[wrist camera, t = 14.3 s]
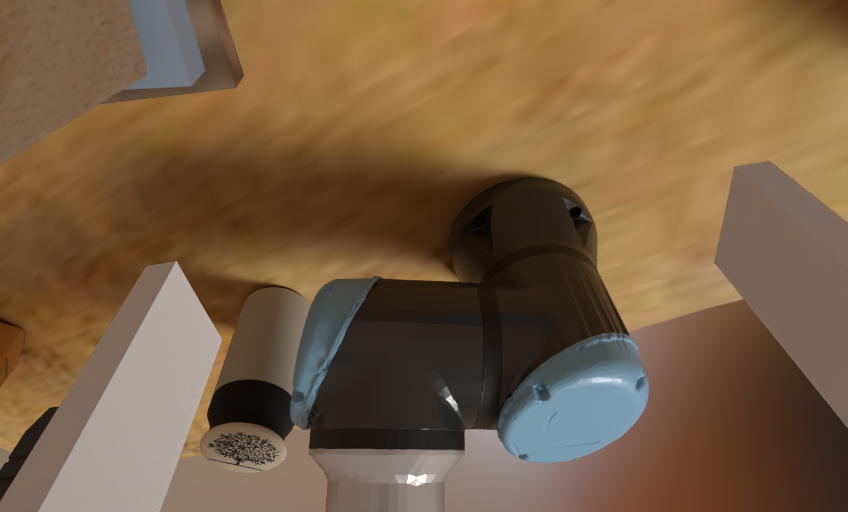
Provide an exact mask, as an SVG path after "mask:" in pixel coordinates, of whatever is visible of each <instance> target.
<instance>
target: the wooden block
mask: <svg viewBox="0 0 848 512" xmlns="http://www.w3.org/2000/svg"><path fill="white" fill-rule="evenodd" d="M146 74H147V68H146V64H145V60H144V56H143V52H142V49H141V45H140V41H139V37H138V33H137V29H136V25H135V22H134V18H133V14H132V10H131V6H130V2H129V0H0V164H2V163H3V162H5V161H6V160H8V159H10V158H11V157H13V156H15V155H16V154H18V153H20V152H21V151H23V150H25V149H26V148H28V147H30V146H31V145H33V144H34V143H36V142H38V141H39V140H41V139H43V138H44V137H46V136H48V135H49V134H51V133H53V132H54V131H56V130H58V129H59V128H61V127H63V126H64V125H66V124H67V123H69V122H71V121H72V120H74V119H76V118H77V117H79V116H81V115H82V114H84V113H86V112H87V111H89V110H91V109H92V108H94V107H95V106H97V105H99V104H100V103H102V102H104V101H105V100H107V99H109V98H110V97H112V96H114V95H115V94H117V93H119V92H120V91H122V90H124V89H125V88H127V87H128V86H130V85H132V84H133V83H135V82H137V81H138V80H140V79H142V78H143V77H145V76H146Z"/></svg>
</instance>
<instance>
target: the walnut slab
mask: <svg viewBox="0 0 848 512" xmlns="http://www.w3.org/2000/svg"><path fill="white" fill-rule="evenodd" d="M185 2H186V6H187V9H188V13H189V16H190V19H191V23H192V26H193V30H194V33H195V37H196V40H197V43H198V47H199V50H200V54H201V57H202V61H203V64H204V67H205V71H204V73H203V74H202V75H201V76H200V77H199V78H198V79H197V81H196V82H195V83H194V84H193V85H192V86H186V87H167V88H148V89H128V90H122V91H120V92H119V93H117V94H115V95H114V96H112V97H110V98H109V99H107V100H105V101H104V102H102V103H100V104H105V103H114V102H122V101H130V100H139V99H147V98H156V97H164V96H173V95H181V94H189V93H198V92H206V91H215V90H223V89H232V88H236V87H237V85H238V84H239V82H240V81H241V79H242V78H243V76H244V74H243V71H242V68H241V65H240V61H239V58H238V55H237V52H236V49H235V46H234V42H233V39H232V36H231V33H230V30H229V27H228V24H227V20H226V17H225V14H224V11H223V8H222V5H221V1H220V0H185Z"/></svg>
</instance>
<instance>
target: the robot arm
mask: <svg viewBox="0 0 848 512" xmlns="http://www.w3.org/2000/svg"><path fill="white" fill-rule="evenodd" d="M450 250H451V257H452V263H453V267H454V270H455V273H456V275H457V277H458V279H459V281H460V282H448V281H423V280H397V279H382V277H379V276H374V277H373V278H362V279H336V280H332V281H330V282H328V283H327V284H325V285H324V286H323V287H322V288H321V289H320V290H319V291H318V293H317V294H316V296H315V298H314V300H313V302H312V304H311V307H310V309H309V312H308V315H307V318H306V321H305V325H304V328H303V332H302V336H301V340H300V344H299V348H298V353H297V358H296V363H295V369H294V375H293V383H292V385H293V391H292V397H291V402H290V416H291V420H292V422H293V423H294V425H296V426H298V427H300V428H301V429H303V430H306V429H309V427H310V443H309V454H310V456H311V457H312V458H313V459H314V460H315V461H316V463H317V464H318V465H319V466H320V467H321V468H322V470H323V471H324V473H325V475H326V477H327V479H328V482H327V497H326V511H325V512H445V505H444V503H445V501H444V500H445V497H444V496H445V495H444V494H445V490H444V488H445V486H444V484H445V479H446V477H447V475H448V473H449V472H450V471H451V470H452V469H453V467H454V466H455V465H456V464H457V463H458V462H459V461H460V460H461V458H462V457H463V456H464V455H465V442H464V441H465V438H464V437H465V436H464V432H465V429H487V430H497V432H498V438H499V439H500V441H501V442H502V443H503V445H504V447H505V448H506V449H507V450H508V452H509V453H511V454H512V455H514V456H519V458H520V459H522V460H525V461H529V462H535V463H555V462H561V461H567V460H571V459H576V458H579V457H582V456H584V455H588V454H590V453H592V452H595V451H597V450H599V449H601V448H603V447H604V446H606V445H607V444H610V443H611V442H613V441H615V440H616V439H618V438H619V437H620V436H622V435H623V434H624V433H625V432H626V431H627V430H629V429H630V428H631V427H632V426H633V424H634V423H635V422H636V421H637V420H638V418H639V417H640V415H641V414H642V412H643V410H644V408H645V406H646V403H647V399H648V394H649V384H648V379H647V376H646V373H645V370H644V367H643V365H642V362H641V360H640V356H639V354H638V348H637V345H636V343H635V342H634V340H633V339H632V338H631V337H630V336H629V333H628V331H627V329H626V327H625V325H624V323H623V321H622V319H621V317H620V315H619V313H618V311H617V309H616V307H615V305H614V303H613V301H612V299H611V297H610V295H609V293H608V291H607V289H606V287H605V284H604V282H603V280H602V278H601V277H600V275H599V273H598V271H597V231H596V226H595V223H594V220H593V218H592V216H591V214H590V212H589V211H588V209H587V207H586V205H585V203H584V202H583V201H582V199H581V198H580V197H579V196H578V195H577V194H576V193H575V192H573V191H572V190H571V189H569V188H567V187H566V186H564V185H562V184H559V183H556V182H553V181H550V180H545V179H536V178H527V179H517V180H512V181H508V182H504V183H501V184H499V185H496V186H494V187H492V188H490V189H488V190H486V191H484V192H483V193H481V194H480V195H478V196H477V197H476V198H474V199H473V200H472V201H471V202H470V203H469V204H468V205H467V206H466V207H465V208H464V209H463V211H462V212H461V213H460V215H459V216H458V218H457V220H456V222H455V224H454V226H453V229H452V233H451V238H450ZM714 263H715V264H716V265H717V266H718V268H719V269H720V270H721V271H722V273H723V274H724V275H725V276H726V277H727V279H728V280H729V281H730V282H731V284H732V285H733V286H734V287H735V289H736V290H737V291H738V292H739V294H740V295H741V296H742V297H743V299H744V300H745V301H746V302H747V303H748V305H749V306H750V307H751V309H752V310H753V311H754V312H755V313H756V315H757V316H758V317H759V318H760V320H761V321H762V322H763V323H764V325H765V326H766V327H767V328H768V330H769V331H770V332H771V333H772V335H773V336H774V337H775V338H776V340H777V341H778V342H779V343H780V345H781V346H782V347H783V348H784V349H785V351H786V352H787V353H788V354H789V356H790V357H791V358H792V359H793V361H794V362H795V363H796V364H797V366H798V367H799V368H800V369H801V370H802V372H803V373H804V374H805V375H806V377H807V378H808V379H809V380H810V382H811V383H812V384H813V385H814V387H815V388H816V389H817V390H818V392H819V393H820V394H821V395H822V397H823V398H824V399H825V400H826V402H827V403H828V404H829V405H830V407H831V408H832V409H833V410H834V411H835V413H836V414H837V415H838V416H839V418H840V419H841V420H842V421H843V423H844V424H845V425H846V426H847V427H848V222H847V221H845V220H844V219H843V218H841V217H840V216H839V215H838V214H836V213H835V212H834V211H833V210H831V209H830V208H829V207H827V206H826V205H825V204H824V203H822V202H821V201H820V200H819V199H817V198H816V197H815V196H814V195H812V194H811V193H810V192H808V191H807V190H806V189H805V188H803V187H802V186H801V185H800V184H798V183H797V182H796V181H794V180H793V179H792V178H791V177H789V176H788V175H787V174H786V173H784V172H783V171H782V170H780V169H779V168H778V167H777V166H775V165H774V164H773V163H772V162H770V161H766V162H760V163H754V164H749V165H743V166H737V167H734V172H733V176H732V181H731V186H730V191H729V195H728V200H727V205H726V210H725V214H724V219H723V224H722V228H721V233H720V238H719V243H718V247H717V252H716V257H715V261H714ZM221 341H222V339H221V337H220V335H219V334H218V332H217V330H216V329H215V327H214V325H213V323H212V322H211V320H210V318H209V316H208V315H207V313H206V311H205V310H204V308H203V306H202V304H201V303H200V301H199V299H198V298H197V296H196V294H195V292H194V291H193V289H192V287H191V285H190V284H189V282H188V280H187V279H186V277H185V275H184V273H183V272H182V270H181V268H180V267H179V265H178V263H177V261H174V262H168V263H162V264H156V265H150V266H146V267H145V269H144V270H143V272H142V274H141V275H140V277H139V278H138V280H137V282H136V283H135V285H134V286H133V288H132V290H131V291H130V293H129V295H128V296H127V298H126V299H125V301H124V303H123V304H122V306H121V307H120V309H119V311H118V312H117V314H116V316H115V317H114V319H113V320H112V322H111V324H110V325H109V327H108V328H107V330H106V332H105V333H104V335H103V336H102V338H101V340H100V341H99V343H98V345H97V346H96V348H95V349H94V351H93V353H92V354H91V356H90V357H89V359H88V361H87V362H86V364H85V366H84V367H83V369H82V370H81V372H80V374H79V375H78V377H77V378H76V380H75V382H74V383H73V385H72V387H71V388H70V390H69V391H68V393H67V395H66V396H65V398H64V399H63V401H62V403H61V404H60V406H58V407H52V408H49V409H48V410H47V411H46V412H45V413H44V414H43V415H42V416H41V417H40V418H39V419H38V420H37V421H36V422H35V423H34V424H33V425H32V426H31V427H30V428H29V429H28V430H27V431H26V432H25V433H24V435H23V436H22V438H21V439H20V441H19V442H18V444H17V445H16V447H15V448H14V450H13V452H12V453H11V455H10V456H9V462H7V463H5V464H4V465H3V467H2V468H1V470H0V512H160V510H161V506H162V504H163V501H164V498H165V496H166V493H167V490H168V487H169V485H170V482H171V479H172V476H173V474H174V471H175V468H176V465H177V463H178V460H179V457H180V454H181V452H182V449H183V446H184V443H185V441H186V438H187V435H188V432H189V430H190V427H191V424H192V421H193V419H194V416H195V413H196V410H197V408H198V405H199V402H200V399H201V397H202V394H203V391H204V388H205V386H206V383H207V380H208V377H209V375H210V372H211V369H212V366H213V364H214V361H215V358H216V355H217V352H218V350H219V347H220V344H221Z"/></svg>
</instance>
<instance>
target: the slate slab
mask: <svg viewBox="0 0 848 512" xmlns="http://www.w3.org/2000/svg"><path fill="white" fill-rule="evenodd" d="M129 2H130V6H131V10H132V14H133V18H134V22H135V25H136V29H137V33H138V37H139V41H140V45H141V49H142V52H143V56H144V60H145V64H146V68H147V74H146V76H145V77H143V78H142V79H140V80H138V81H137V82H135V83H133V84H132V85H130V86H128V87H127V88H125V89H124V90H128V89H148V88H167V87H186V86H192V85H193V84H194V83H195V82H196V81H197V79H198V78H199V77H200V76H201V75H202V74H203V73H204V71H205V67H204V64H203V61H202V57H201V54H200V50H199V47H198V43H197V40H196V37H195V33H194V30H193V26H192V23H191V19H190V16H189V13H188V9H187V6H186V2H185V0H129Z"/></svg>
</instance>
